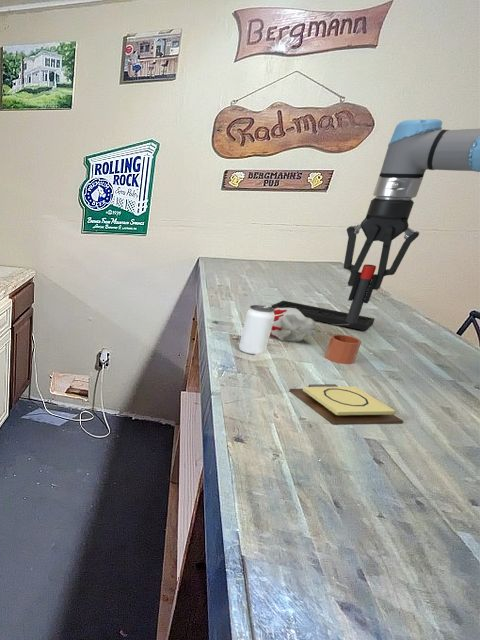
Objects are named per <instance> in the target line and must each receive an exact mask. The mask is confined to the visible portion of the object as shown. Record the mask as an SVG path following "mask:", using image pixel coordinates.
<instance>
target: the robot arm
mask: <svg viewBox="0 0 480 640" xmlns="http://www.w3.org/2000/svg"><path fill="white" fill-rule="evenodd" d="M442 125H443V120H441V119H438V118H437V119H436V118H435V119H434V118H433V119H432V118H431V119H429V118H428V119H427V118H426V119H409V120H408V119H406V120H402V121H399V123H397V124H396V125H395V128H394V130H393V133H392V136H391V138H390V141H389V142H388V145H387V150H386V153H385V156H384V160H383V162H382V166H381V169H380V173H379V175H378V178H377V181H376V184H375V187H374V191H373V194H372V195H373V197H374V198H372V199H371V200H370V202H369V205H368V210H367V212H366V216H365V218H363V220H362V221H361V222H360V223H359V224H355V225H350V226H348V227H347V228H346V234H347V237H348V238H347V243H346V251H345V256H344V262H343V269H345V270H348V271H349V272H350V275H349V278H348V281H347V286H348V287H351V290H350V293H349V295H348V299H347V301H349V302H350V301H351V302H352V301H353V298H354V295H355V292H356V289H357V285H358V282H359V279H360V275H361V272H362V271H360V270H361V268H362V266H363V263H364V261H365V259H366V257H367V255H368V253H369V252H370V249H371V247H372V245H373V243H374V242H381V243H382V248H381V254H380V259H379V263H378V270H377V273H374V275H373V277H372V279H371V282H370V285H369V288H368V291H367V294H366V297H365V300H364V303H363V304H368V303H369V302H370V300H371V296H372V293H373V291H374V290H375V291H378V290H379V289H380V288H381V286H382V283H383V280H384V278H385V277H387V276H393V275H395V274H396V272H397V270H398V269H399V266H400V265H401V263H402V261H403V259H404V257H405V256H406V253H407V251H408V249H409V248H410V246H411V244H412V243H413V242H414V241H415V240H416V239H417V238H418V237H419V236H420V232H419V231H418V230H417V231H416V230H413V228H411V227H409V217H410V215H411V212H412V209H413V207H414V204H415V202H414V200H413V199H414V198H416V197H417V195H418V192H419V190H420V187H421V185H422V182H423V179H424V176H425V173H426V171H427V170H428V171H458V172H459V171H461V172H475V173H480V128H465V129H464V128H463V129H443V126H442ZM361 230H362V232H363V234H364V236H365V238H366V239H365V241H364V244H363V246H362V248H361V250H360V252H359V254H358V256H357V258H356V261H355V263H354V264H353V259H354V254H355V253H354V252H355V249H356V248H355V247H356V242H357V235H359V233H360V231H361ZM403 233H404V236H403V239H404V241H403V243H402V245H401V247H400V248H399V251H398V252H397V254H396V256H395V258H394V260H393V262H392V264H391V265H390V268H388V269H387V266H388V261H389V256H390V251H391V246H392V242H393V240H395V239H396V238H397V237H399V236H401V235H402V234H403Z"/></svg>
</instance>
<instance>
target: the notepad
mask: <svg viewBox="0 0 480 640" xmlns="http://www.w3.org/2000/svg"><path fill="white" fill-rule="evenodd" d="M302 389H303V391H304V392H306V393H307V394H308V395H310V396H311V397H313V398H314V399H315V400H317V401H318V402H319V403H321V404H322V405H323V406H325V407H326V408H328V409H329V410H330V411H332V412H333V413H334V414H336V415H395V413H396V410H394V409H393V408H391V407H390V406H388V405H386V404H385V403H383V402H381V401H380V400H379V399H377V398H375V397H373V396H372V395H370V394H368V393H367V392H365V391H364V390H362V389H361V388H359V387H357V386H354V385H353V386H339V387H308V386H303V387H302Z"/></svg>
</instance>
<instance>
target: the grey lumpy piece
mask: <svg viewBox="0 0 480 640" xmlns="http://www.w3.org/2000/svg"><path fill="white" fill-rule="evenodd" d="M274 314H275V317H274V321H273V325H272V329H271V333H270V337H271V338H277V339H279V340H280V341H281V342H283V341H286V342H287V341H288V342H293V343H298V342H300V341H303V340H304V338H305V337H307V338H308V337H312V336H314V335H315V333H316V329H317V326H316V321H315V320H313V319H311V318H307V317H305V316H304V315H303V314H302V313H301V312H300V311H299V310H298V309H296V308H278V307H277V308H274Z"/></svg>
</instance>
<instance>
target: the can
mask: <svg viewBox="0 0 480 640" xmlns="http://www.w3.org/2000/svg"><path fill="white" fill-rule="evenodd" d="M271 307H272V306H268V305H262V304H252V305H250V306H249V309H248V310H247V311H246V315H245V319H244V322H243V327H242V331H241V336H240V340H239V344H238V349H239V351H240V352H242V353H244V354H248V355H251V356H256V355H262V354H265V353H266V351H267V348H268V343H269V340H270V337H271V336H270V333H271V329H272V325H273V321H274V317H275V314H274V309H273V308H271Z"/></svg>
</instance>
